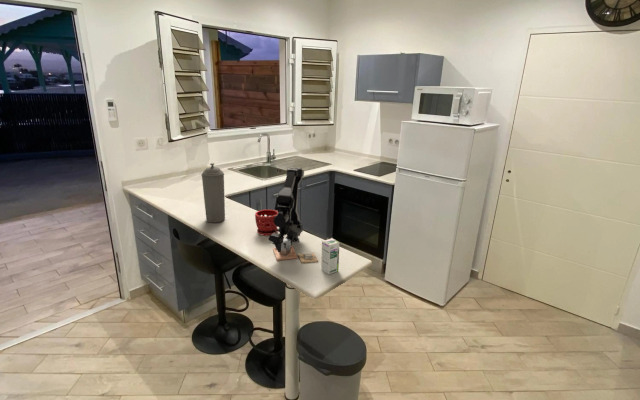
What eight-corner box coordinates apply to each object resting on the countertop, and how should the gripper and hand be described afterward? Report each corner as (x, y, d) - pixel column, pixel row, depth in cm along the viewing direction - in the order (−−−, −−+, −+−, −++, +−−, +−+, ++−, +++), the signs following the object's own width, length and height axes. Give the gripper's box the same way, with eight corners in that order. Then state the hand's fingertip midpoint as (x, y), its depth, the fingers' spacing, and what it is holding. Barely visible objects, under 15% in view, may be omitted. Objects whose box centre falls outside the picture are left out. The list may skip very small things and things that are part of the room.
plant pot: (283, 231, 200) (283, 211, 196) (269, 239, 189) (268, 218, 185) (265, 226, 206) (265, 207, 202) (250, 233, 195) (250, 213, 191)
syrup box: (328, 274, 156) (329, 245, 151) (320, 269, 160) (321, 240, 156) (338, 271, 159) (340, 242, 154) (330, 265, 163) (331, 237, 159)
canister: (216, 214, 221) (212, 160, 210) (231, 219, 215) (228, 163, 204) (200, 220, 211) (195, 163, 200) (215, 225, 205) (211, 166, 194)
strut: (279, 253, 172) (279, 240, 170) (283, 250, 176) (283, 237, 174) (286, 255, 171) (286, 242, 168) (290, 252, 174) (290, 239, 172)
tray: (273, 249, 177) (273, 247, 177) (292, 247, 180) (292, 246, 180) (276, 260, 166) (276, 258, 166) (297, 258, 169) (297, 256, 169)
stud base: (298, 255, 172) (298, 251, 171) (313, 254, 174) (313, 249, 173) (301, 263, 165) (301, 258, 164) (318, 261, 167) (318, 257, 166)
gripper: (287, 229, 156) (287, 260, 161) (309, 216, 172) (308, 245, 176) (267, 224, 161) (268, 254, 166) (290, 212, 177) (290, 240, 182)
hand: (284, 248), depth 172 cm, fingers open, 9 cm apart
